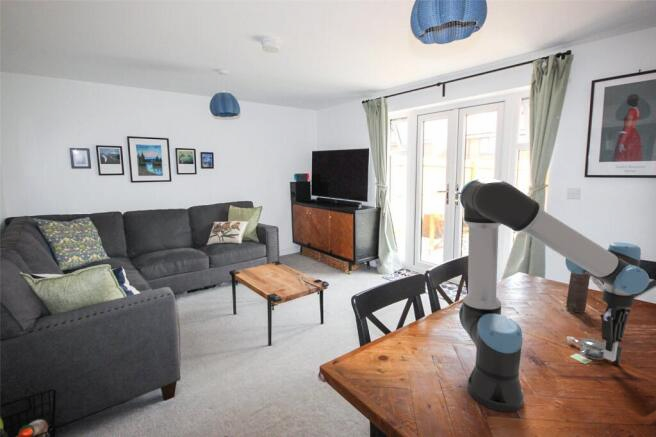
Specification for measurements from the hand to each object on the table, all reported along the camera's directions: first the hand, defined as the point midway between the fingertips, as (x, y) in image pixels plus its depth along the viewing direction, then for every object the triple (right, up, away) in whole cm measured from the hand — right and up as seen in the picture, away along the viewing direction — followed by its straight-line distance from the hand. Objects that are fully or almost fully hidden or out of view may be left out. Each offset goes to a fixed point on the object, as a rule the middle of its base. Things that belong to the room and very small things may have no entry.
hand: (609, 358), depth 110 cm
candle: (+23, +3, +46) cm, 51 cm away
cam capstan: (+2, -2, +9) cm, 10 cm away
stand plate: (+3, -3, +9) cm, 10 cm away
